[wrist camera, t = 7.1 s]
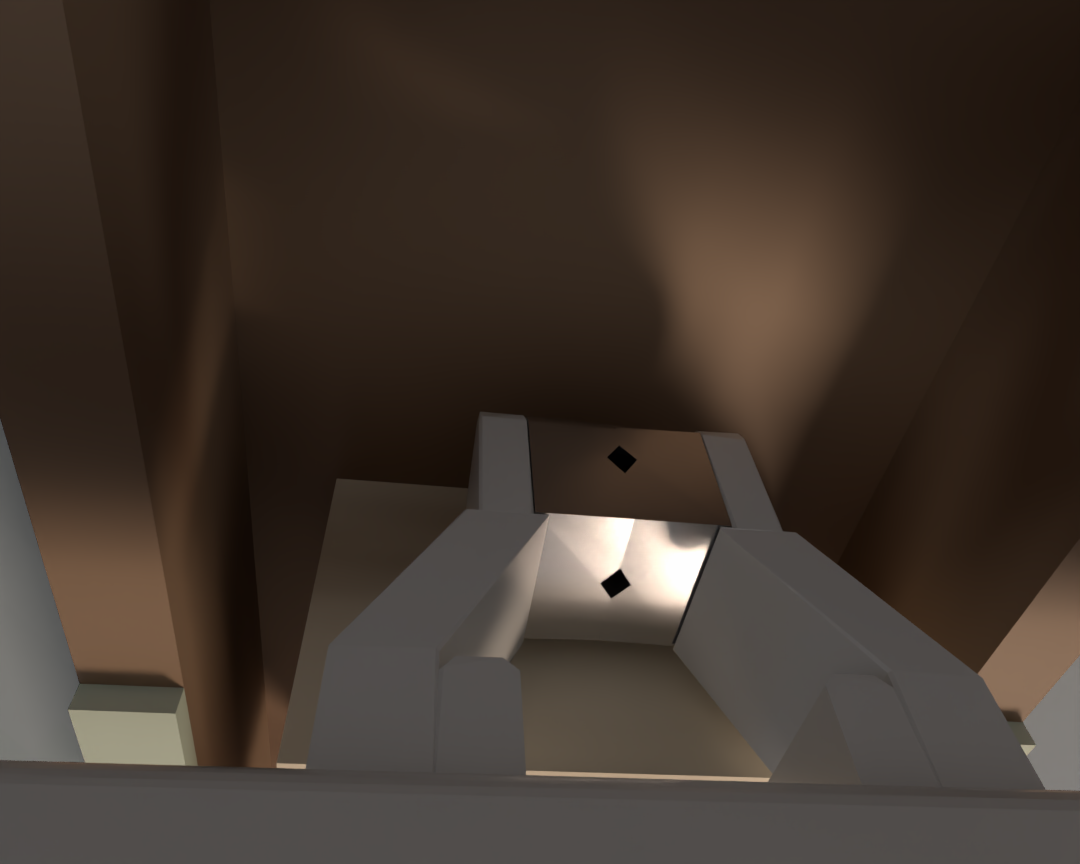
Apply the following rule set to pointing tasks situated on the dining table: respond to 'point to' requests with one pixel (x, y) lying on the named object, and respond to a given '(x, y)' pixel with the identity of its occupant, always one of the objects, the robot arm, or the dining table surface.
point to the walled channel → (529, 301)
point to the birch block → (519, 660)
